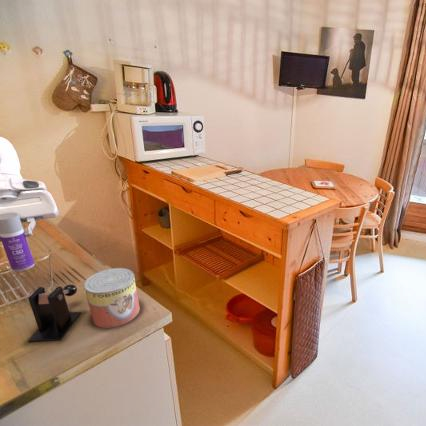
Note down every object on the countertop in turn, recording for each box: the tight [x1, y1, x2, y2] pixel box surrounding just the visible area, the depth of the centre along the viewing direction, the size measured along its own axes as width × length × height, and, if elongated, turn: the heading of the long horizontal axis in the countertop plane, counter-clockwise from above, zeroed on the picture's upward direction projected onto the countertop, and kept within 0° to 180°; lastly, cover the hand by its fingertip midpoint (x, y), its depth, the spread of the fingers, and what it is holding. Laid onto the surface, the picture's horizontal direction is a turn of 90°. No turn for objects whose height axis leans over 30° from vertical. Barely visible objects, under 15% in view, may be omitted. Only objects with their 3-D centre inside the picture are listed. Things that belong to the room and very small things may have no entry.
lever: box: [38, 283, 78, 304], centre depth 83 cm, size 12×3×3 cm, turn 9°
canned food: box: [83, 267, 141, 329], centre depth 86 cm, size 11×11×12 cm
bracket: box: [27, 285, 82, 343], centre depth 80 cm, size 10×7×12 cm
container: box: [0, 213, 35, 272], centre depth 83 cm, size 5×5×15 cm
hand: (13, 238), depth 82 cm, fingers closed on container, 4 cm apart
